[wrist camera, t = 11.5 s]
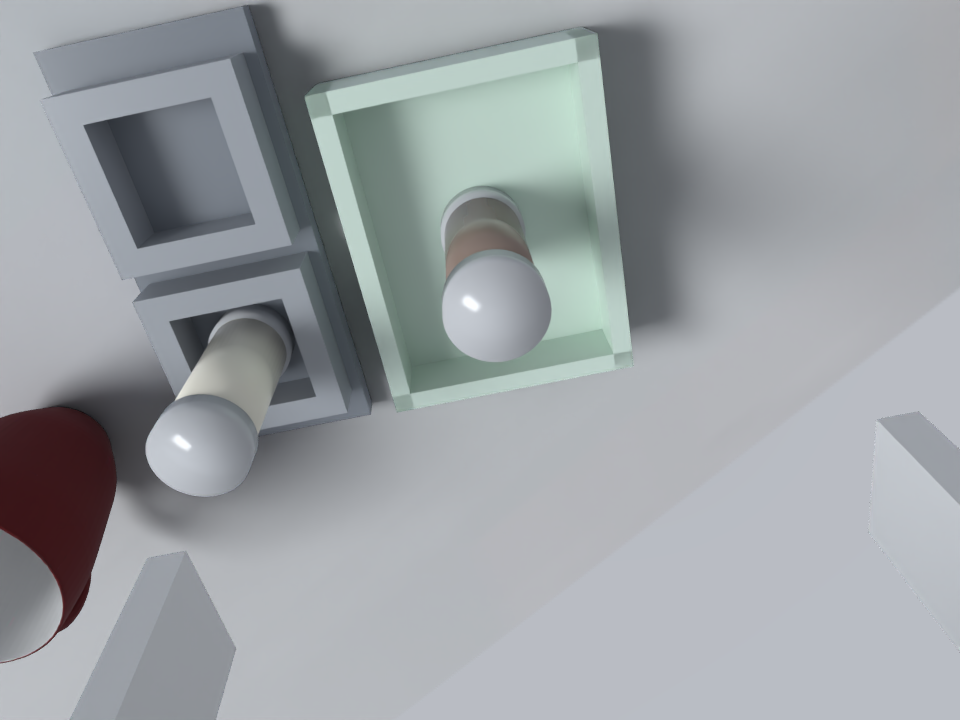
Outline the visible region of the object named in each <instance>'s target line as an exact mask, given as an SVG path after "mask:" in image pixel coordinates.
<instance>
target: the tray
mask: <svg viewBox="0 0 960 720" xmlns="http://www.w3.org/2000/svg"><path fill="white" fill-rule="evenodd" d="M304 98H305V101H306V105H307V108H308V112H309V115H310V118H311V122H312V125H313V129H314V132H315V135H316V139H317V142H318V146H319V149H320V152H321V156H322V159H323V163H324V166H325V170H326V173H327V176H328V180H329V183H330V187H331V190H332V193H333V197H334V200H335V204H336V207H337V210H338V214H339V217H340V221H341V224H342V227H343V231H344V234H345V238H346V241H347V244H348V248H349V251H350V255H351V258H352V261H353V265H354V268H355V272H356V275H357V278H358V282H359V285H360V289H361V292H362V295H363V299H364V302H365V306H366V309H367V312H368V316H369V319H370V323H371V326H372V329H373V333H374V336H375V340H376V343H377V346H378V350H379V353H380V357H381V360H382V363H383V367H384V370H385V374H386V377H387V380H388V384H389V387H390V391H391V394H392V397H393V401H394V404H395V408H396V411H397V412H402V411H407V410H412V409H417V408H423V407H428V406H433V405H438V404H443V403H448V402H453V401H459V400H464V399H469V398H474V397H479V396H484V395H489V394H494V393H500V392H505V391H510V390H515V389H520V388H525V387H530V386H536V385H541V384H546V383H551V382H556V381H561V380H566V379H572V378H577V377H582V376H587V375H592V374H597V373H602V372H607V371H613V370H618V369H623V368H628V367H633V366H634V365H633V356H632V346H631V337H630V328H629V319H628V310H627V300H626V291H625V282H624V273H623V264H622V255H621V245H620V236H619V227H618V218H617V209H616V200H615V190H614V181H613V172H612V163H611V154H610V144H609V135H608V126H607V117H606V108H605V99H604V89H603V80H602V71H601V62H600V53H599V43H598V34H597V33H595V32H593V31H590V30H588V29H585V28H583V27H577V28H573V29H568V30H563V31H559V32H554V33H549V34H545V35H540V36H536V37H531V38H526V39H522V40H517V41H512V42H508V43H503V44H499V45H494V46H489V47H485V48H480V49H475V50H471V51H466V52H461V53H457V54H452V55H448V56H443V57H438V58H434V59H429V60H424V61H420V62H415V63H411V64H406V65H401V66H397V67H392V68H387V69H383V70H378V71H373V72H369V73H364V74H360V75H355V76H350V77H346V78H341V79H336V80H332V81H327V82H323V83H318V84H316V85H315V86H314V87H313V88H312V89H311V90H310V91H309V92H308V93H307V94H306V95H305V96H304ZM475 186H490V187H494V188H497V189H499V190H501V191H503V192H505V193H506V194H508V195H509V196H510V197H511V198H512V199H513V200H514V201H515V203H516V204H517V206H518V208H519V210H520V213H521V215H522V218H523V221H524V225H525V239H526V242H527V245H528V248H529V251H530V254H531V257H532V260H533V263H534V265H535V266H536V268H537V269H538V270H539V272H540V274H541V275H542V277H543V280H544V282H545V285H546V288H547V291H548V294H549V297H550V301H551V308H552V312H551V320H550V324H549V327H548V330H547V332H546V334H545V335H544V337H543V338H542V340H541V341H540V342H539V343H538V344H537V345H536V346H535V347H534V348H533V349H532V350H531V351H529V352H528V353H526V354H524V355H522V356H521V357H518V358H516V359H513V360H509V361H504V362H486V361H481V360H478V359H475V358H472V357H470V356H468V355H466V354H465V353H463V352H462V351H460V350H459V349H458V348H457V347H456V346H455V345H454V344H453V343H452V341H451V340H450V338H449V337H448V335H447V333H446V331H445V327H444V324H443V316H442V294H443V288H444V284H445V282H446V267H445V252H444V250H443V246H442V242H441V218H442V214H443V212H444V209H445V207H446V206H447V204H448V203H449V201H450V200H451V199H452V198H453V197H454V196H455V195H457V194H458V193H459V192H461V191H463V190H465V189H467V188H471V187H475Z"/></svg>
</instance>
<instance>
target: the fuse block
mask: <svg viewBox="0 0 960 720" xmlns="http://www.w3.org/2000/svg"><path fill="white" fill-rule="evenodd" d="M34 56H35V58H36V60H37V62H38V65H39V67H40V69H41V71H42V74H43V76H44V78H45V80H46V82H47V85H48V87H49V89H50V91H51V94H52V96H50V97H47V98H45V99H42V100H40V102H41V104H42V106H43V109H44V111H45V113H46V115H47V117H48V120H49V122H50V124H51V126H52V128H53V130H54V133H55V135H56V137H57V139H58V141H59V144H60V146H61V148H62V150H63V152H64V154H65V157H66V159H67V161H68V163H69V165H70V168H71V170H72V172H73V174H74V176H75V179H76V181H77V183H78V185H79V187H80V189H81V192H82V194H83V196H84V198H85V200H86V203H87V205H88V207H89V209H90V211H91V213H92V216H93V218H94V220H95V222H96V224H97V227H98V229H99V231H100V233H101V235H102V237H103V240H104V242H105V244H106V246H107V248H108V251H109V253H110V255H111V257H112V259H113V261H114V264H115V266H116V268H117V270H118V272H119V275H120V277H121V279H122V280H125V279H130V278H135V281H136V283H137V285H138V287H139V290H140V292H141V293H140V295H139V296H138V297H137V298H136V299H135V300H134V301H133V302H132V303H133V305H134V307H135V309H136V312H137V314H138V316H139V318H140V320H141V323H142V325H143V327H144V329H145V331H146V334H147V336H148V338H149V340H150V342H151V344H152V347H153V349H154V351H155V353H156V355H157V358H158V360H159V362H160V364H161V366H162V368H163V371H164V373H165V375H166V377H167V379H168V382H169V384H170V386H171V388H172V390H173V392H174V395H175V397H176V398H177V396H178V394H179V393H180V391H181V389H182V388H183V386H184V384H185V383H186V381H187V379H188V378H189V376H190V374H191V373H192V371H193V369H194V368H195V366H196V364H197V363H198V361H199V359H200V358H201V356H202V354H203V353H204V351H205V349H206V348H207V346H208V340H209V337H210V334H211V332H212V331H213V329H214V327H215V326H216V324H217V322H218V321H219V319H220V318H221V316H222V315H223V314H224V313H225V312H226V311H228V310H229V309H232V308H237V307H242V306H247V305H252V304H259V305H263V306H266V307H269V308H271V309H273V310H275V311H276V312H278V313H279V314H280V315H282V316H283V317H284V318H285V319H286V321H287V322H288V323H289V325H290V327H291V329H292V331H293V334H294V340H295V346H294V351H293V353H292V356H291V359H290V362H289V364H288V367H287V369H286V371H285V372H284V373H283V375H282V376H281V377H280V378H279V381H278V384H277V386H276V389H275V392H274V394H273V397H272V399H271V402H270V405H269V407H268V410H267V413H266V415H265V418H264V421H263V423H262V426H261V429H260V431H259V434H258V436H263V435H268V434H273V433H278V432H283V431H288V430H294V429H299V428H304V427H309V426H314V425H319V424H324V423H329V422H335V421H340V420H345V419H350V418H355V417H360V416H365V415H370V414H371V409H372V401H371V398H370V395H369V392H368V388H367V385H366V382H365V379H364V376H363V372H362V369H361V366H360V363H359V359H358V356H357V353H356V350H355V347H354V343H353V340H352V337H351V334H350V330H349V327H348V324H347V321H346V318H345V314H344V311H343V308H342V305H341V302H340V298H339V295H338V292H337V289H336V285H335V282H334V279H333V276H332V273H331V269H330V266H329V263H328V260H327V256H326V253H325V250H324V247H323V244H322V240H321V237H320V234H319V231H318V228H317V224H316V221H315V218H314V215H313V211H312V208H311V205H310V202H309V199H308V195H307V192H306V189H305V186H304V182H303V179H302V176H301V173H300V170H299V166H298V163H297V160H296V157H295V154H294V150H293V147H292V144H291V141H290V137H289V134H288V131H287V128H286V125H285V121H284V118H283V115H282V112H281V108H280V105H279V102H278V99H277V96H276V92H275V89H274V86H273V83H272V80H271V76H270V73H269V70H268V67H267V63H266V60H265V57H264V54H263V51H262V47H261V44H260V41H259V38H258V34H257V31H256V28H255V25H254V22H253V18H252V15H251V12H250V9H249V6H248V5H246V6H241V7H237V8H232V9H228V10H223V11H219V12H214V13H210V14H205V15H201V16H196V17H192V18H187V19H183V20H178V21H174V22H169V23H165V24H160V25H156V26H151V27H147V28H142V29H138V30H133V31H129V32H124V33H120V34H115V35H111V36H106V37H102V38H97V39H92V40H88V41H83V42H79V43H74V44H70V45H65V46H61V47H56V48H52V49H47V50H43V51H38V52H34Z"/></svg>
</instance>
